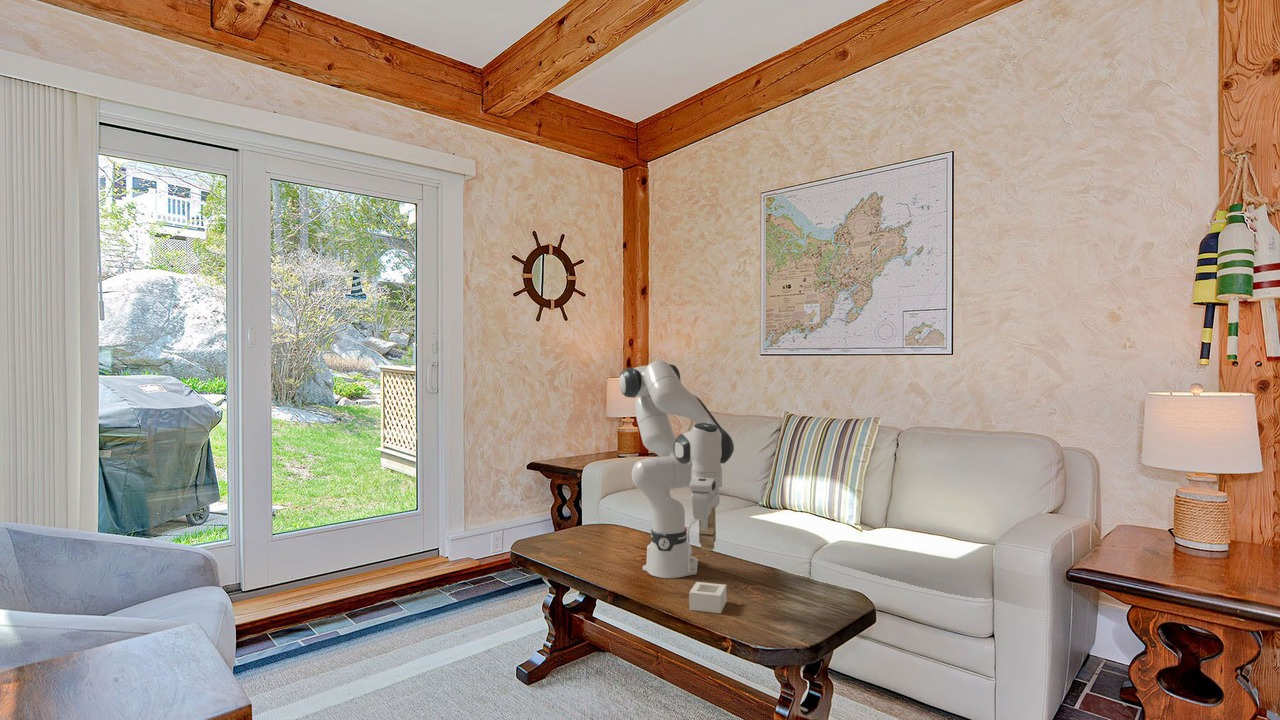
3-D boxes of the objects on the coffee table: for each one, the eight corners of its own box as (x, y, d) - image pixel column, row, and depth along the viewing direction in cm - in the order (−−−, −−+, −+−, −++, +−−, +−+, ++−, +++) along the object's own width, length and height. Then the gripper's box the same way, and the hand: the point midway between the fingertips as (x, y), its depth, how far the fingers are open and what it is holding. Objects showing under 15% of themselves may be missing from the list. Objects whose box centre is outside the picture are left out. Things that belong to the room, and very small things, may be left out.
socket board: (696, 598, 190) (696, 581, 190) (726, 601, 187) (726, 584, 187) (689, 609, 182) (689, 592, 182) (720, 613, 179) (720, 595, 179)
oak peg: (702, 546, 187) (701, 505, 187) (715, 547, 186) (715, 506, 186) (699, 550, 183) (698, 508, 183) (713, 551, 182) (712, 509, 182)
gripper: (703, 473, 195) (704, 518, 195) (687, 486, 176) (688, 536, 176) (724, 474, 193) (724, 519, 193) (710, 487, 174) (710, 538, 174)
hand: (707, 527), depth 185 cm, fingers closed on oak peg, 4 cm apart
